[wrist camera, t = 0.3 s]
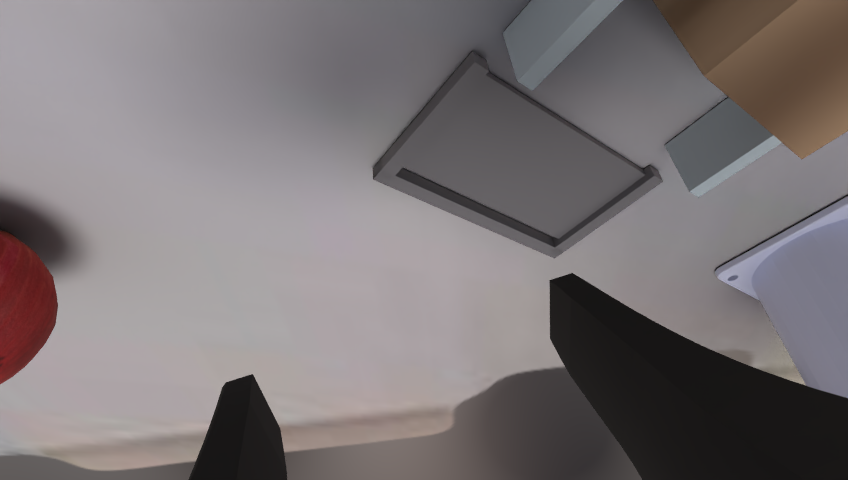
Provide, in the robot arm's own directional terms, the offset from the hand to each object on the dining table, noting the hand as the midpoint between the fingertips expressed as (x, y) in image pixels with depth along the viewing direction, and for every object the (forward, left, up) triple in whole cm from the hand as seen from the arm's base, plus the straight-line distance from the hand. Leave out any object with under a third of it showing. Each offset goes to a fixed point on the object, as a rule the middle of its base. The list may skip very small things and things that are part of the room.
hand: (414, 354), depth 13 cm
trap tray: (-6, 0, -9) cm, 11 cm away
